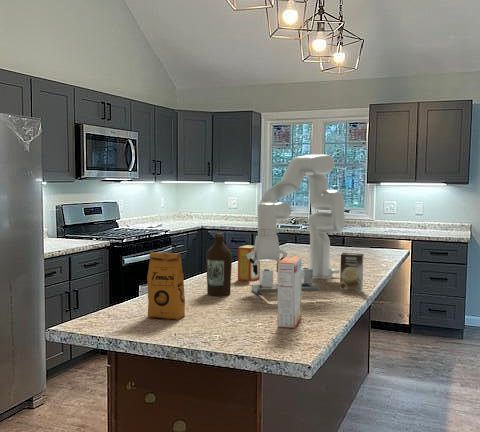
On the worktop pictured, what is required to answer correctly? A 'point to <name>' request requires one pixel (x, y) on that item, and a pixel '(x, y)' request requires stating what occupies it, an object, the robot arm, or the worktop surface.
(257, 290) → the tray with square compartments
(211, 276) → the olive oil
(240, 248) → the baking soda box
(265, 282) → the grey block with knob
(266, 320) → the worktop surface
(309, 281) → the block with ball knob
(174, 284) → the coffee package
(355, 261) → the coffee box
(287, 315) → the cracker box
